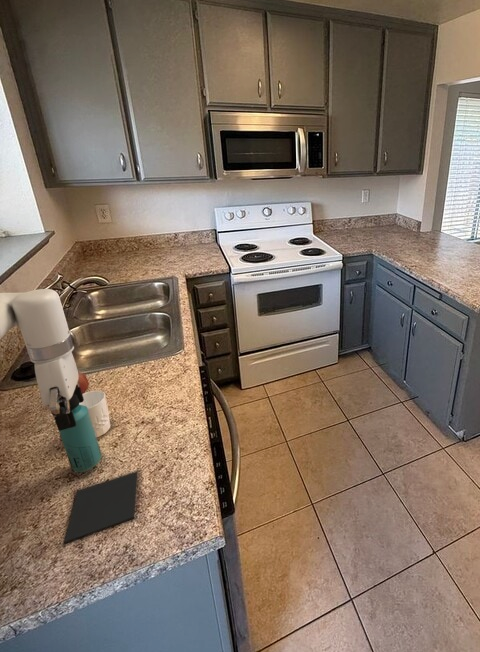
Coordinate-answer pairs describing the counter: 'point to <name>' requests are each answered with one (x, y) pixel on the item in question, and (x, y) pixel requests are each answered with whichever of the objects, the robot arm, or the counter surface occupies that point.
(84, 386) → the fruit
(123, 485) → the corner mat
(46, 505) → the counter surface
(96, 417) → the white cup
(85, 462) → the beverage bottle
